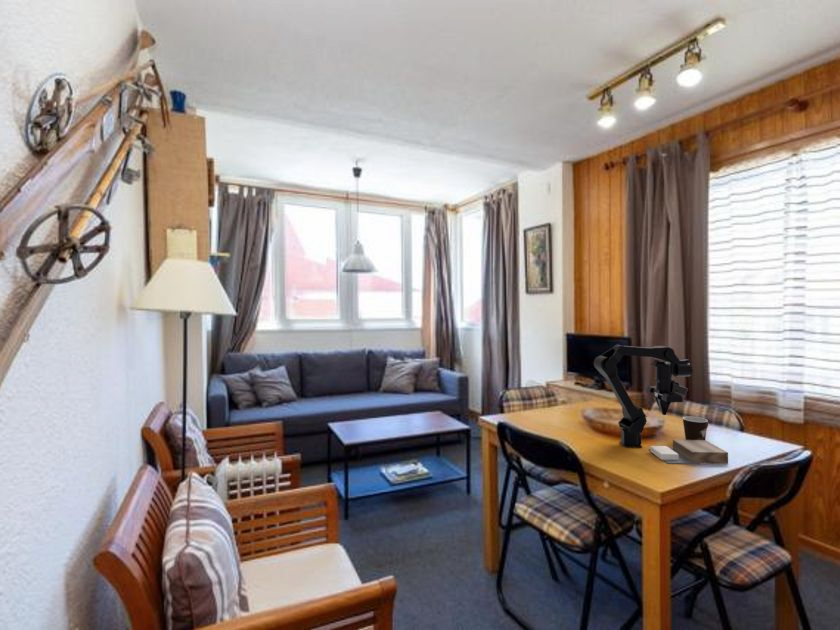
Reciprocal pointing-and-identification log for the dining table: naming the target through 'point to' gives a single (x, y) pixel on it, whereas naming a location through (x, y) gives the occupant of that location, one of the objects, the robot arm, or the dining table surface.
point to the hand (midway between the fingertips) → (664, 414)
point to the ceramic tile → (664, 453)
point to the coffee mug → (695, 428)
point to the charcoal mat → (680, 460)
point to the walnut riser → (700, 451)
